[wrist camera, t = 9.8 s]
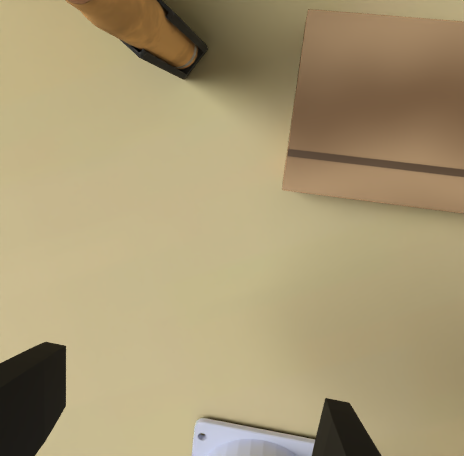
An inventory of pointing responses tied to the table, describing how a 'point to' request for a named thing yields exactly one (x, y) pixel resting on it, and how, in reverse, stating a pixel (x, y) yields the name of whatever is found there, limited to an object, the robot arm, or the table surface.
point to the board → (379, 111)
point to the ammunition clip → (147, 31)
